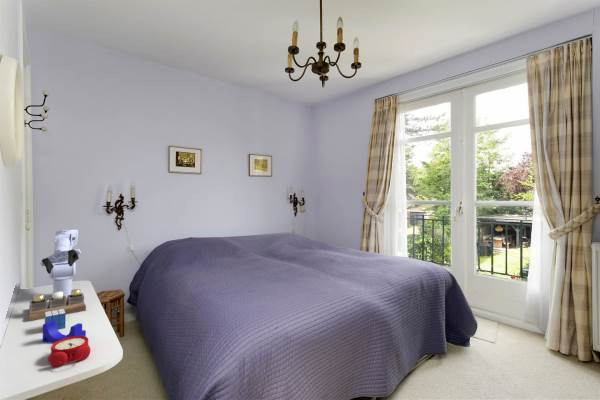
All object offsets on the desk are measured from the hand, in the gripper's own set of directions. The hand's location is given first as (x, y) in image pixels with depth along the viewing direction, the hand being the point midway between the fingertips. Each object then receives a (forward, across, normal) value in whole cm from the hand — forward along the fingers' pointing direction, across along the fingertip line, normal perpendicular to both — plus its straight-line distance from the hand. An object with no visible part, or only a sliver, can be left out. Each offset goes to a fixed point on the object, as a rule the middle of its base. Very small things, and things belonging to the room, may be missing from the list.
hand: (59, 268), depth 128 cm
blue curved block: (+38, +3, +4) cm, 39 cm away
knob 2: (+4, +1, +14) cm, 15 cm away
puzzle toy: (+26, -3, +8) cm, 27 cm away
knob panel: (+6, -6, +16) cm, 18 cm away
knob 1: (+5, -10, +10) cm, 15 cm away
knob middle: (+5, -5, +12) cm, 14 cm away
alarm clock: (+52, +7, 0) cm, 52 cm away
